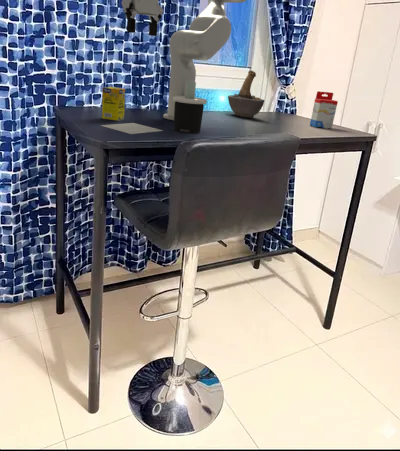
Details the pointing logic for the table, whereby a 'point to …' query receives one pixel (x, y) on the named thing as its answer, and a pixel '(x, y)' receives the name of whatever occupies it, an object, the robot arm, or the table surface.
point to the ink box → (323, 110)
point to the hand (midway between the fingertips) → (142, 34)
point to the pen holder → (188, 117)
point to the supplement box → (113, 103)
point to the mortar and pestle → (246, 99)
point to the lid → (190, 95)
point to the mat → (131, 128)
